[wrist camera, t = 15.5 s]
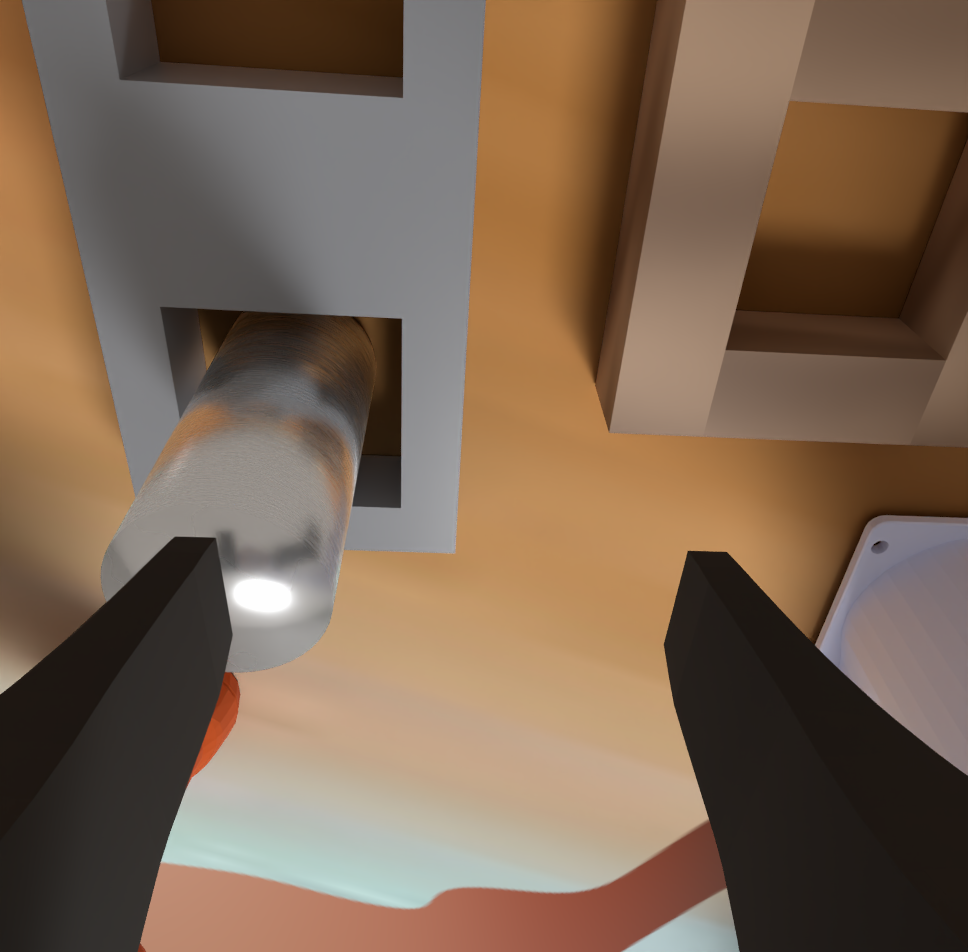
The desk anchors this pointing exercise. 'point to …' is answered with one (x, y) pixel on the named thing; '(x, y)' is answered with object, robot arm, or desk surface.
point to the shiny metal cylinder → (263, 478)
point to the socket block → (733, 222)
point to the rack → (275, 222)
